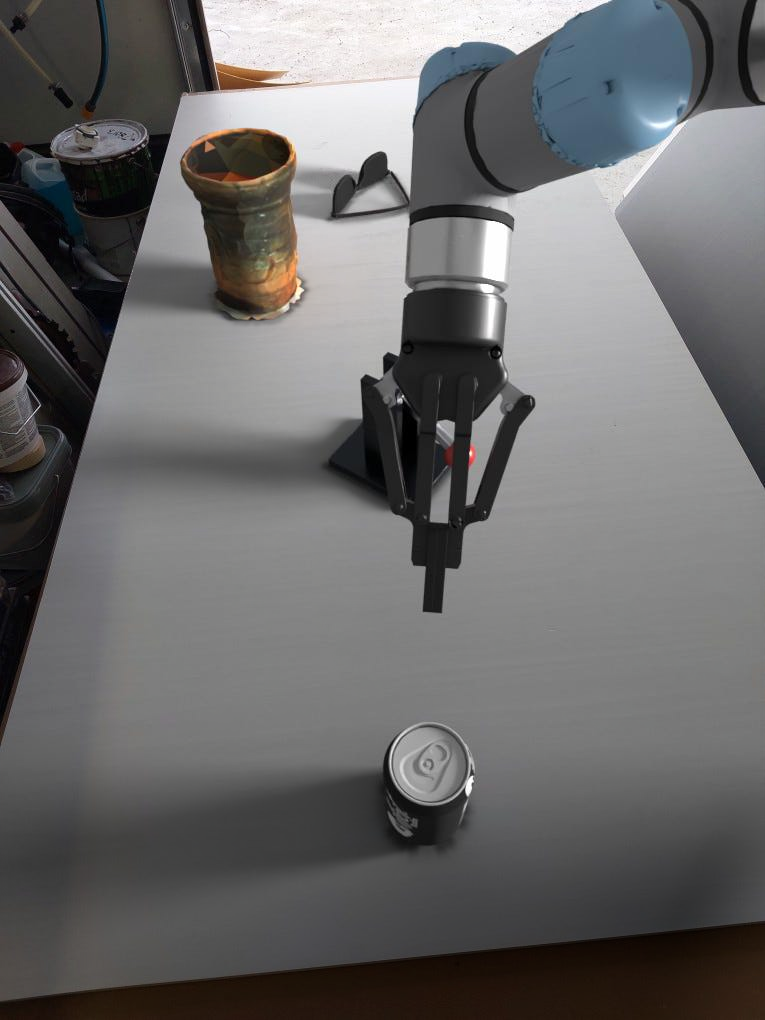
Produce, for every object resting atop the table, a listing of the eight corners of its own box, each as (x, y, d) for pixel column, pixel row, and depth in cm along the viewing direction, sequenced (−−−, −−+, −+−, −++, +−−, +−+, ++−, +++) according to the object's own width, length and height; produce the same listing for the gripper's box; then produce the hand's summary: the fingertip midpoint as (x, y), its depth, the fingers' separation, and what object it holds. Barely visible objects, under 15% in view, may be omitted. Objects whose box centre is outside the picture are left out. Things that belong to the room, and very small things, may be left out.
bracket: (457, 459, 80) (466, 369, 69) (415, 511, 76) (418, 424, 65) (372, 418, 85) (368, 328, 73) (328, 465, 80) (317, 376, 69)
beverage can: (368, 805, 58) (362, 762, 48) (422, 749, 61) (426, 697, 51) (426, 866, 55) (432, 834, 45) (479, 804, 58) (496, 761, 48)
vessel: (332, 284, 101) (319, 144, 85) (266, 335, 94) (239, 194, 78) (260, 251, 106) (235, 114, 90) (192, 298, 100) (153, 158, 84)
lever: (469, 460, 74) (486, 450, 72) (454, 480, 73) (471, 470, 70) (384, 374, 73) (398, 360, 70) (367, 392, 71) (380, 378, 68)
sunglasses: (400, 243, 107) (400, 213, 103) (325, 217, 112) (322, 187, 108) (453, 194, 115) (455, 164, 111) (381, 172, 120) (380, 142, 116)
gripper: (539, 306, 53) (512, 601, 57) (371, 297, 54) (355, 588, 58) (554, 289, 46) (522, 630, 49) (360, 280, 47) (342, 614, 50)
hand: (432, 607), depth 54 cm, fingers closed
